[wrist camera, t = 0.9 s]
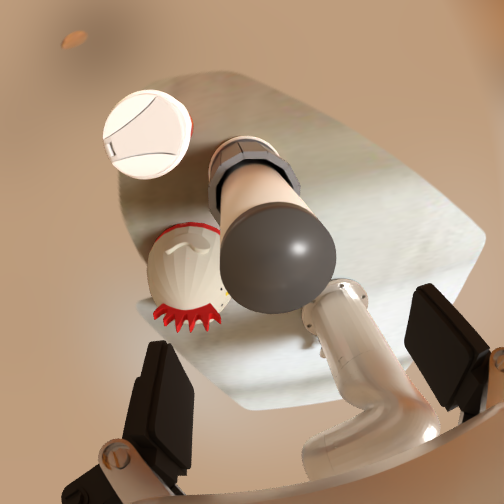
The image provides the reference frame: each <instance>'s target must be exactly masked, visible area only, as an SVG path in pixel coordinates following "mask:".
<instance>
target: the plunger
mask: <svg viewBox="0 0 504 504" xmlns="http://www.w3.org/2000/svg"><path fill="white" fill-rule="evenodd" d="M335 265H336V249H335V245H334V242H333V239H332V237H331V235H330V233H329V232H328V231H327V229H326V228H325V227H324V226H323V224H322V223H321V222H320V221H319V220H318V218H317V217H316V216H315V215H314V214H313V212H312V211H311V210H310V209H309V208H308V206H307V205H306V204H305V203H304V202H303V201H302V199H301V198H300V197H299V196H298V195H297V194H296V192H295V191H294V190H293V189H292V188H291V187H290V186H289V184H288V183H287V182H286V181H285V180H284V179H283V178H282V176H281V175H280V174H279V173H278V172H277V171H276V170H275V169H274V168H273V166H271V165H270V164H269V163H267V162H266V161H264V160H261V159H243V160H242V161H240V162H238V163H237V164H235V165H233V166H231V167H230V168H228V170H227V171H226V173H225V174H224V176H223V179H222V186H221V220H220V276H221V280H222V283H223V285H224V287H225V289H226V291H227V292H228V294H229V295H230V296H231V297H232V298H233V299H234V300H235V301H236V302H237V303H239V304H240V305H242V306H243V307H245V308H247V309H249V310H252V311H255V312H259V313H266V314H279V313H286V312H290V311H293V310H296V309H299V308H301V307H303V306H305V305H307V304H308V303H310V302H311V301H313V300H314V299H315V298H316V297H318V296H319V295H320V294H321V293H322V291H323V290H324V289H325V288H326V286H327V285H328V283H329V282H330V280H331V278H332V275H333V273H334V270H335Z"/></svg>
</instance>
